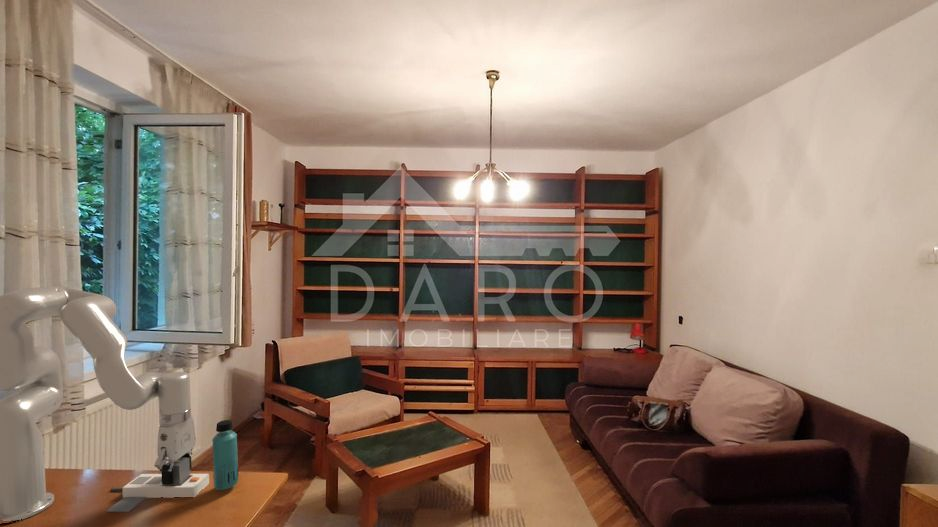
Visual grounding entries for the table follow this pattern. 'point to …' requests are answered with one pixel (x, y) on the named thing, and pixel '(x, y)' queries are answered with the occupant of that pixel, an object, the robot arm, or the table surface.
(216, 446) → the beverage bottle
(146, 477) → the power strip
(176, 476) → the charger
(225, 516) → the table surface
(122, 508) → the coaster
